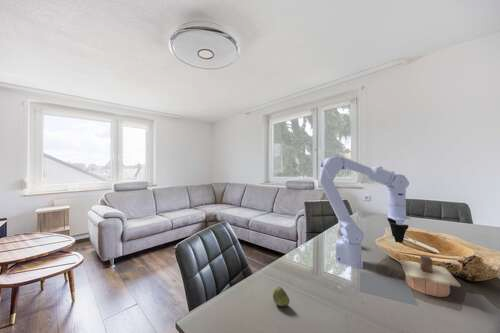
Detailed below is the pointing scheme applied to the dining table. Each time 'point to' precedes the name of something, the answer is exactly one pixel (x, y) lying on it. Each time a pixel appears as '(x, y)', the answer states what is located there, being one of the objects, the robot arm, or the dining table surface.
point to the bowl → (429, 287)
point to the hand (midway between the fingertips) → (397, 239)
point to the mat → (386, 287)
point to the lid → (428, 271)
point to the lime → (280, 297)
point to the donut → (339, 233)
